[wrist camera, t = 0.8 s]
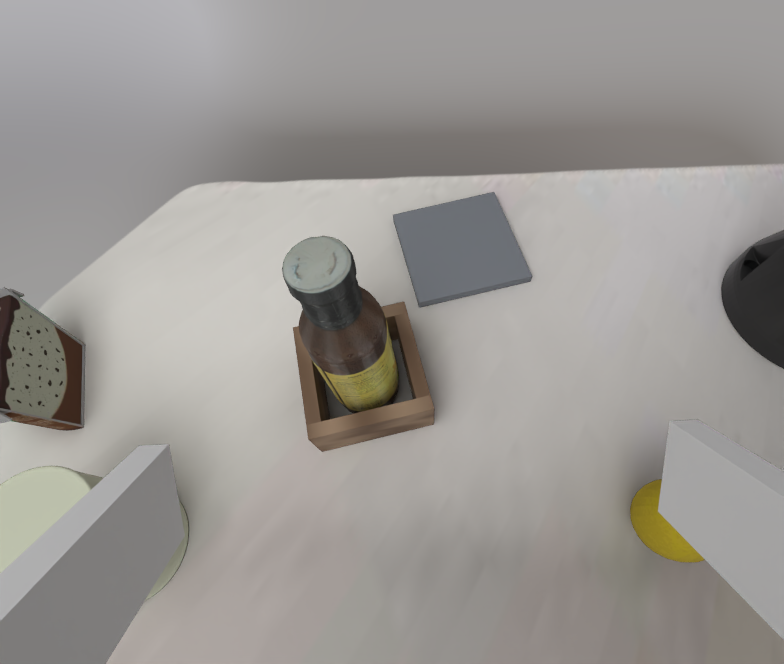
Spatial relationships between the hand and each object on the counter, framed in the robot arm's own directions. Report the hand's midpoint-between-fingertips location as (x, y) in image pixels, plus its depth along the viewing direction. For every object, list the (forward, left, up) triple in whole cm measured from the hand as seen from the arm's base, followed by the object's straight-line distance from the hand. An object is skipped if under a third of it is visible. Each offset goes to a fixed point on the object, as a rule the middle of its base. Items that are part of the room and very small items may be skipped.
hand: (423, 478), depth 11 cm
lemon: (-18, +4, -27) cm, 33 cm away
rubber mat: (-11, -26, -27) cm, 39 cm away
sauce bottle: (+2, -13, -27) cm, 31 cm away
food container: (+33, -20, -27) cm, 48 cm away
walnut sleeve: (+2, -13, -27) cm, 30 cm away
